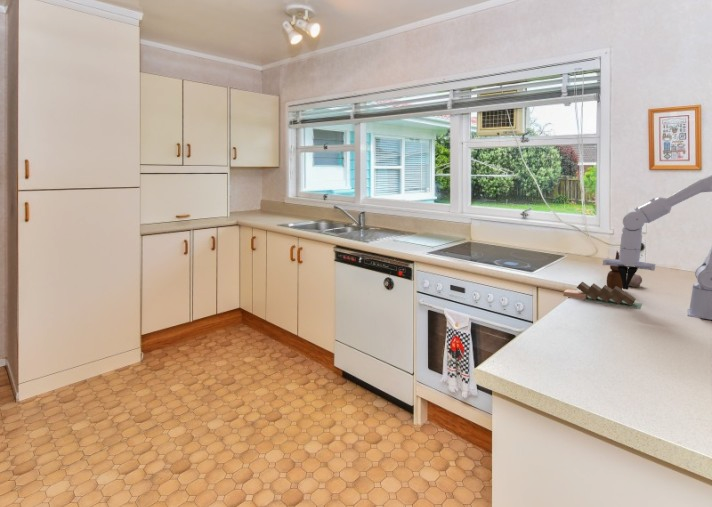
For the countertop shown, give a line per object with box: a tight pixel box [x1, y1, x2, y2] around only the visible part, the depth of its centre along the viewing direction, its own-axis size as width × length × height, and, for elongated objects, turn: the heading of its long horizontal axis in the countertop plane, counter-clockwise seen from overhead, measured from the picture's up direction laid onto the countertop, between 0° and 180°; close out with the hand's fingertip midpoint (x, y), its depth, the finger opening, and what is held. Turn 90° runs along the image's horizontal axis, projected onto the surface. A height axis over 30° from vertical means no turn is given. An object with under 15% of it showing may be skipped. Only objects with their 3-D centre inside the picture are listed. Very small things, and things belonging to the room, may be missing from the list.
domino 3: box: [600, 284, 623, 304], centre depth 146 cm, size 2×4×7 cm
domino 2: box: [588, 283, 610, 302], centre depth 148 cm, size 2×4×7 cm
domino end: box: [563, 288, 588, 300], centre depth 153 cm, size 2×4×7 cm
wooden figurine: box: [606, 250, 623, 290], centre depth 162 cm, size 7×6×15 cm
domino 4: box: [611, 286, 637, 306], centre depth 144 cm, size 2×4×7 cm
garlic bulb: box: [626, 273, 643, 288], centre depth 170 cm, size 8×7×8 cm
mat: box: [583, 296, 643, 310], centre depth 146 cm, size 17×8×1 cm, turn 53°
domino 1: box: [576, 281, 598, 300], centre depth 150 cm, size 2×4×7 cm
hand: (625, 288), depth 144 cm, fingers closed
